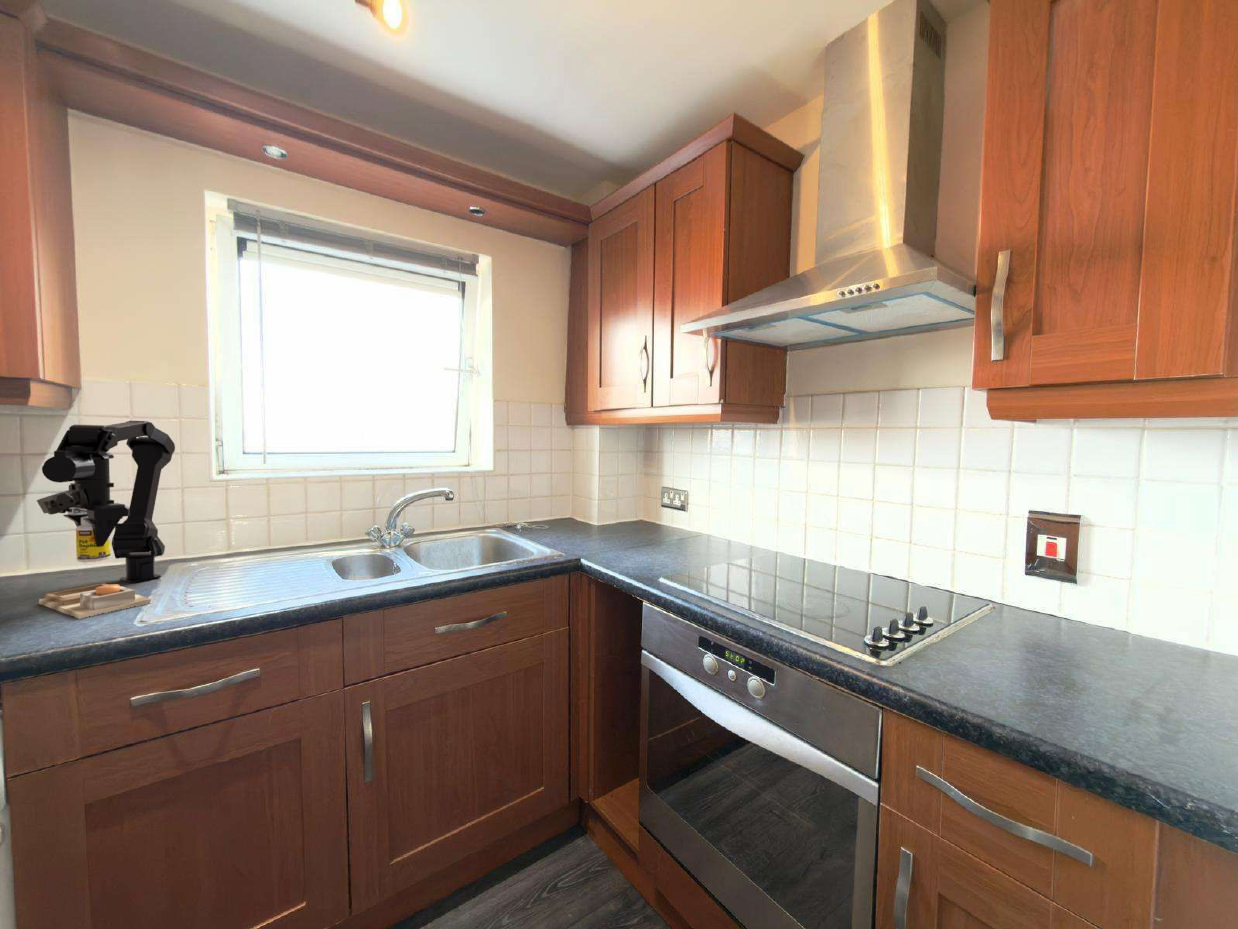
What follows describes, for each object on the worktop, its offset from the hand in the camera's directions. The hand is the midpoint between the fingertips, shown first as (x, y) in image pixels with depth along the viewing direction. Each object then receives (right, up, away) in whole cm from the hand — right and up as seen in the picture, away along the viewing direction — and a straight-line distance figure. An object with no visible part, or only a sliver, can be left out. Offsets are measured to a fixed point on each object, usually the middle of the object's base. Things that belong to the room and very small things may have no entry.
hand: (93, 545), depth 119 cm
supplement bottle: (0, -4, 0) cm, 4 cm away
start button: (+8, -11, -5) cm, 14 cm away
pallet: (+3, -13, -2) cm, 14 cm away
